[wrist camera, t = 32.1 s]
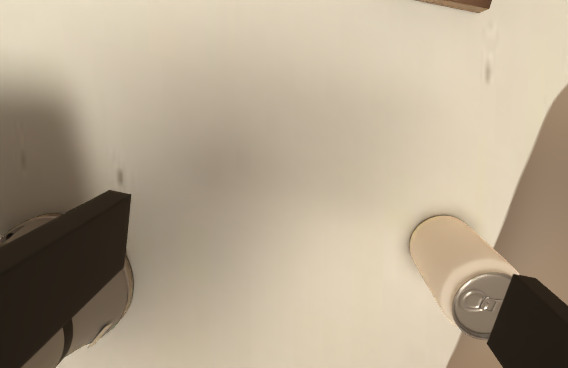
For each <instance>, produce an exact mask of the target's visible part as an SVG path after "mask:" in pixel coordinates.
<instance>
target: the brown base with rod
mask: <svg viewBox="0 0 568 368" xmlns="http://www.w3.org/2000/svg"><path fill="white" fill-rule="evenodd" d="M417 1H422V2H427V3H432V4H437V5H442V6H447V7H452V8H457V9H463V10H468V11H473V12H478V13H480V12H483V11H485V10H487V9H489V8H490V4H491V1H492V0H417Z"/></svg>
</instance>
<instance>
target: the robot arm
mask: <svg viewBox="0 0 568 368" xmlns="http://www.w3.org/2000/svg"><path fill="white" fill-rule="evenodd" d="M130 202H131V194H126V193H121V192H116V191H111V190H109V191H107V192H105V193H103V194H101V195H99V196H97V197H95V198H93V199H91V200H89V201H88V202H86V203H84V204H82V205H80V206H78V207H76V208H74V209H72V210H70V211H68V212H66V213H65V214H61V213H51V214H44V215H40V216H37V217H34V218H32V219H30V220H27V221H25V222H23V223H21V224H19V225H18V226H16V227H15V228H13V229H12V230H11V231H9V232H8V233H7V234H6V235H4V236H3V238H2V239H1V240H0V368H55V367H56V366H57V365H58V364H59V363H60V362H61V361H62V359H63V358H64V357H66V356H68V355H69V354H71V353H72V352H74V351H76V350H77V349H79V348H81V347H82V346H84V345H87V344H90V343H91V344H90V345H89V347H90V346H92V345H93V344H95V343H96V342H97V341H98V340H99V339H100V338H101V337H103V336H104V335H105V334H106V333H108V332H109V331H110V330H111V329H112V328H113V327H114V326H115V325H116V324H117V323H118V322H119V321H120V319H121V318H122V317H123V316H124V314H125V313H126V311H127V309H128V307H129V305H130V302H131V299H132V294H133V276H132V271H131V268H130V265H129V262H128V260H127V258H126V256H125V254H126V243H127V233H128V223H129V212H130ZM487 344H488V346H489V347H490V349H491V350H492V352H493V353H494V355H495V356H496V358H497V359H498V361H499V362H500V364H501V365H502V367H503V368H568V306H567V305H566V304H565V303H564V302H563V301H561V300H560V299H559V298H558V297H557V296H556V295H555V294H553V293H552V292H551V291H550V290H549V289H548V288H547V287H545V286H544V285H543V284H542V283H541V282H540V281H538V280H537V279H536V278H532V277H527V276H521V275H517V274H513V276H512V278H511V281H510V284H509V286H508V289H507V292H506V294H505V297H504V299H503V302H502V305H501V307H500V310H499V313H498V315H497V318H496V320H495V323H494V326H493V328H492V331H491V334H490V336H489V339H488V342H487Z"/></svg>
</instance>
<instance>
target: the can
mask: <svg viewBox="0 0 568 368" xmlns="http://www.w3.org/2000/svg"><path fill="white" fill-rule="evenodd" d="M410 253H411V256H412V259H413V261H414V263H415V264H416V266H417V268H418V270H419V272H420V273H421V275H422V277H423V279H424V280H425V282H426V284H427V286H428V287H429V289H430V291H431V293H432V294H433V296H434V298H435V300H436V301H437V303H438V305H439V307H440V308H441V310H442V312H443V313H444V315H445V316H446V317H447V318H448V320H449V321H450V322H451V323H453V324H454V325H455V326H457V327H459V329H460V330H461V331H463V332H464V333H465V334H467V335H469V336H471V337H473V338H476V339H480V340H488V339H489V336H490V334H491V331H492V328H493V326H494V323H495V320H496V318H497V315H498V313H499V310H500V307H501V305H502V302H503V299H504V297H505V294H506V292H507V289H508V286H509V284H510V281H511V278H512V276H513V274H517V275H519V273H518V272H517V271H516V270H515V269H514V268H513V267H512V266H511V265H510V264H509V263H508V262H507V261H506V260H505V259H504V258H503V257H502V256H501V255H499V253H497V252H496V251H495V250H494V249H493V248H492V247H491V246H490V245H489V244H488V243H487V242H485V241H484V240H483V239H482V238H481V237H480V236H479V235H478V234H477V233H476V232H474V231H473V230H472V229H471V228H470V227H469V226H468V225H466V224H465V223H464V222H463V221H461V220H459V219H457V218H455V217H451V216H436V217H433V218H430V219H428V220H426V221H424V222H423V223H421V224H420V225H419V226H418V227H417V228H416V229H415V231H414V232H413V234H412V237H411V241H410Z"/></svg>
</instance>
